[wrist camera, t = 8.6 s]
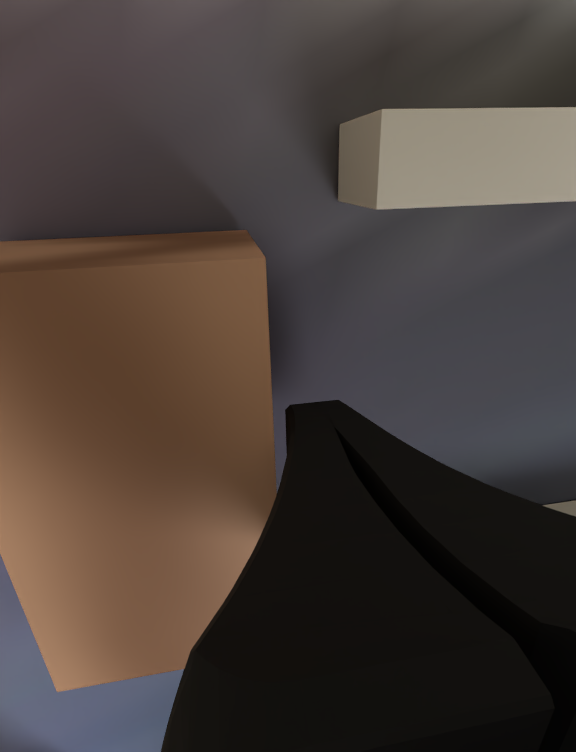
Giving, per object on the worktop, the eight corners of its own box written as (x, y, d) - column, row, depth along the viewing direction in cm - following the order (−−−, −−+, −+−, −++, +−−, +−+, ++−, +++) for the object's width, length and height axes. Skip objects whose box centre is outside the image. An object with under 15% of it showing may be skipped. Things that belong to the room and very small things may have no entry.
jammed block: (246, 230, 10) (265, 257, 6) (266, 538, 13) (283, 650, 10) (-1, 241, 9) (-113, 279, 6) (93, 564, 13) (57, 692, 10)
